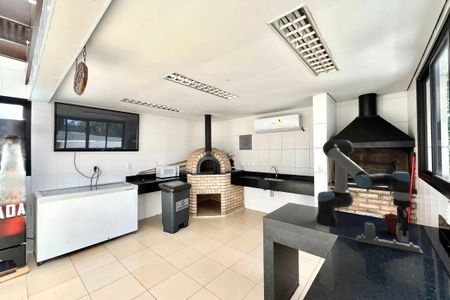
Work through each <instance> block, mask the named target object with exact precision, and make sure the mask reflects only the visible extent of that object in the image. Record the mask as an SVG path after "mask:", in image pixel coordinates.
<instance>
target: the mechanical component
mask: <svg viewBox="0 0 450 300" xmlns="http://www.w3.org/2000/svg"><path fill="white" fill-rule="evenodd" d="M383 217H384V218H382V221H383V223H385V230H386V232H388V233H391V234H394V235H397V234H396V226H397V214H395V213H391V212H390V213H384V215H383Z"/></svg>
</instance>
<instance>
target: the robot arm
mask: <svg viewBox="0 0 450 300" xmlns="http://www.w3.org/2000/svg"><path fill="white" fill-rule="evenodd" d="M354 147H355V146H354V144H353V143H352V142H351V141H350V140H348V139H329V140H328V141H325V143H324V144H323V146H322V151H323V153H324V155H325V156H326V157H328V159H332V161H334V188H333V189H332V191H329V190H328V191H327V190H326V191H325V190H324V191H320V192H318V193H317V213H316V216H315V222H316V221H317V222H318V223H317V222H316V223H317V224H319V223H320V225H322V224H323V226H328V225H329V226H331V225H334V226H337V225H338V219H337V216H336V212H335V210H336V209H342V208H343V209H344V208H350V207H352V205H353V203H354V197H353V194H352V193H351V192H350V190H349V189H348V174H349V175H350V176H351V177H352V178H353V179H354V183H355V185H356V186H358V187H359V188H372V187H373V188H374V187H389V188H392V192H391V195H392V197H393V198H392V202H393V203H392V205H394V206H395V207H396V215H397V223H401V229H400V230H401V241H400V242H401V243H408V236H407V231H409V232H410V230H409V229H408V228H409V214H410V213H408V212H409V211H408V210H407V208H411V207H412V201H411V200H412V192H411V182H412V181H411V176H410V175H411V174H410V173H409V172H407V171H393V172H392V173H391V174H388V173H382V172H375V173H372V174H371V173H368V172H367V171H365V170H364V169H363V168H362V167H361V166H359V165H358V164H356V163H355V162H354V161H353V160H352V159H350V157H351V155H352V154H353V152H354V150H355V149H354Z"/></svg>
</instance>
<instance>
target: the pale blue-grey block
mask: <svg viewBox="0 0 450 300" xmlns="http://www.w3.org/2000/svg"><path fill="white" fill-rule="evenodd" d="M400 229H401V223H397V226H396V234H395V235H396V236H397V239H398V241H399V242H402V241H401V230H400ZM408 229H409V227H408ZM409 233H410V230H409V231H407V236H408V242H407V244H409V242H410V234H409Z"/></svg>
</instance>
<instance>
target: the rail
mask: <svg viewBox="0 0 450 300" xmlns="http://www.w3.org/2000/svg"><path fill="white" fill-rule="evenodd" d="M364 232H365V233H361V235H359V234H357V236H355V242H357V243H361V244H362V243H363V244H368V245H372V246H373V245H374V246H379V247H384V248H389V249H396V250H399V251H405V252H409V253H410V252H411V253H416V254H422V255H424V252H423V250H422V249H421V247H420V246H419V245H418V244H417V245H416V244H414V243H413V242H410V241H409V243H406V242H400V241H399V242H398V241H397V240H396V239H392V240H387V239H381V238H379V236H376V227H375V225H374V223H373V222H367V221H365V222H364ZM364 234H365V235H364Z"/></svg>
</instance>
